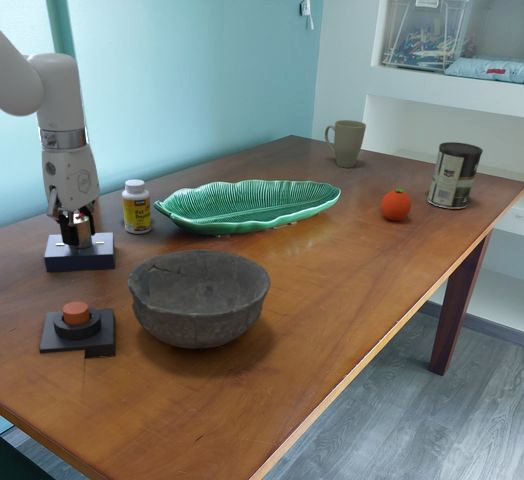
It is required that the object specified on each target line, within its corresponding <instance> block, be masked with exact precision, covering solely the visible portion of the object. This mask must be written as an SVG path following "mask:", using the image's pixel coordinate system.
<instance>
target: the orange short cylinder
mask: <svg viewBox="0 0 524 480" xmlns="http://www.w3.org/2000/svg"><path fill="white" fill-rule="evenodd" d="M88 307H89V305H88V304H87V303H86V302H84V301H70V302H68V303H65V304H64V305H63V306H62V309H61V310H62V311H63V316H64V321H65V323H66V324H69V325H80V324H83V323H86V322H88V321H89V320H90V314H89V308H88Z"/></svg>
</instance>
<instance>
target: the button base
mask: <svg viewBox="0 0 524 480" xmlns="http://www.w3.org/2000/svg"><path fill="white" fill-rule="evenodd" d="M88 308H89V314H90V320H89V321H88V322H86V323H83V324H80V325H69V324H66V323H65V321H64V316H63V311H62V309H61V310H59V311H50V312H49V311H48V312H45V313H46V314H45V318H44V322H43V323H44V324H43V329H42V333H41V340H40V345H39V350H38V351H39V354H50V353H61V352H75V351H84V357H83V359H93V358H92V357H96V358H101V357H100V356H108V357H112V356H111V355H115V356H116V316H115V309H114V307H110V308H109V307H108V308H98V309H97V308H95V307H91V306H88Z"/></svg>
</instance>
